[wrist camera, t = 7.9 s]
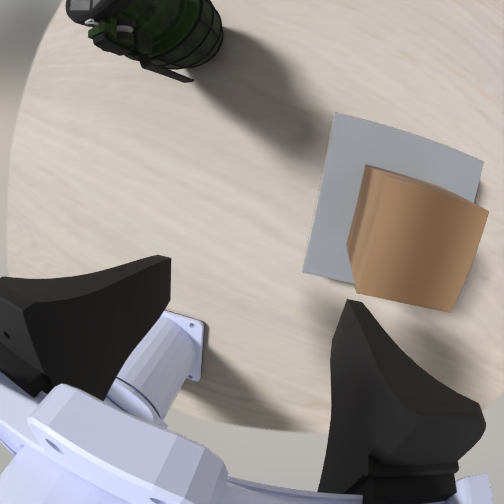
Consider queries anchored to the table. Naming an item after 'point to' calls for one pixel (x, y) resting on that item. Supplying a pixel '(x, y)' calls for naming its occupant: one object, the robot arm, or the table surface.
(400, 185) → the walnut block
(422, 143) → the gray block
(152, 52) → the grenade
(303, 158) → the table surface
